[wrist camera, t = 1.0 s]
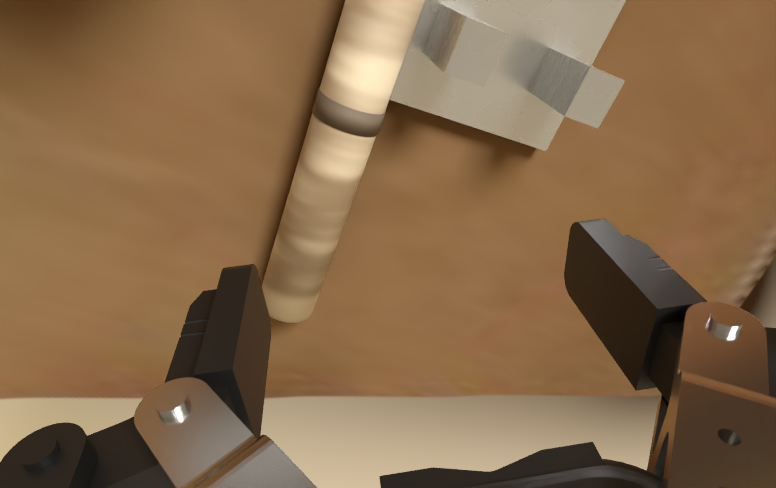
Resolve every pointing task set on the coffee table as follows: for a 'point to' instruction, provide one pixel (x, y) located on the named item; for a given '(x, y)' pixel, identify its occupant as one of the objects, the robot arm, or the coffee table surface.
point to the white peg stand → (510, 65)
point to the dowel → (336, 149)
